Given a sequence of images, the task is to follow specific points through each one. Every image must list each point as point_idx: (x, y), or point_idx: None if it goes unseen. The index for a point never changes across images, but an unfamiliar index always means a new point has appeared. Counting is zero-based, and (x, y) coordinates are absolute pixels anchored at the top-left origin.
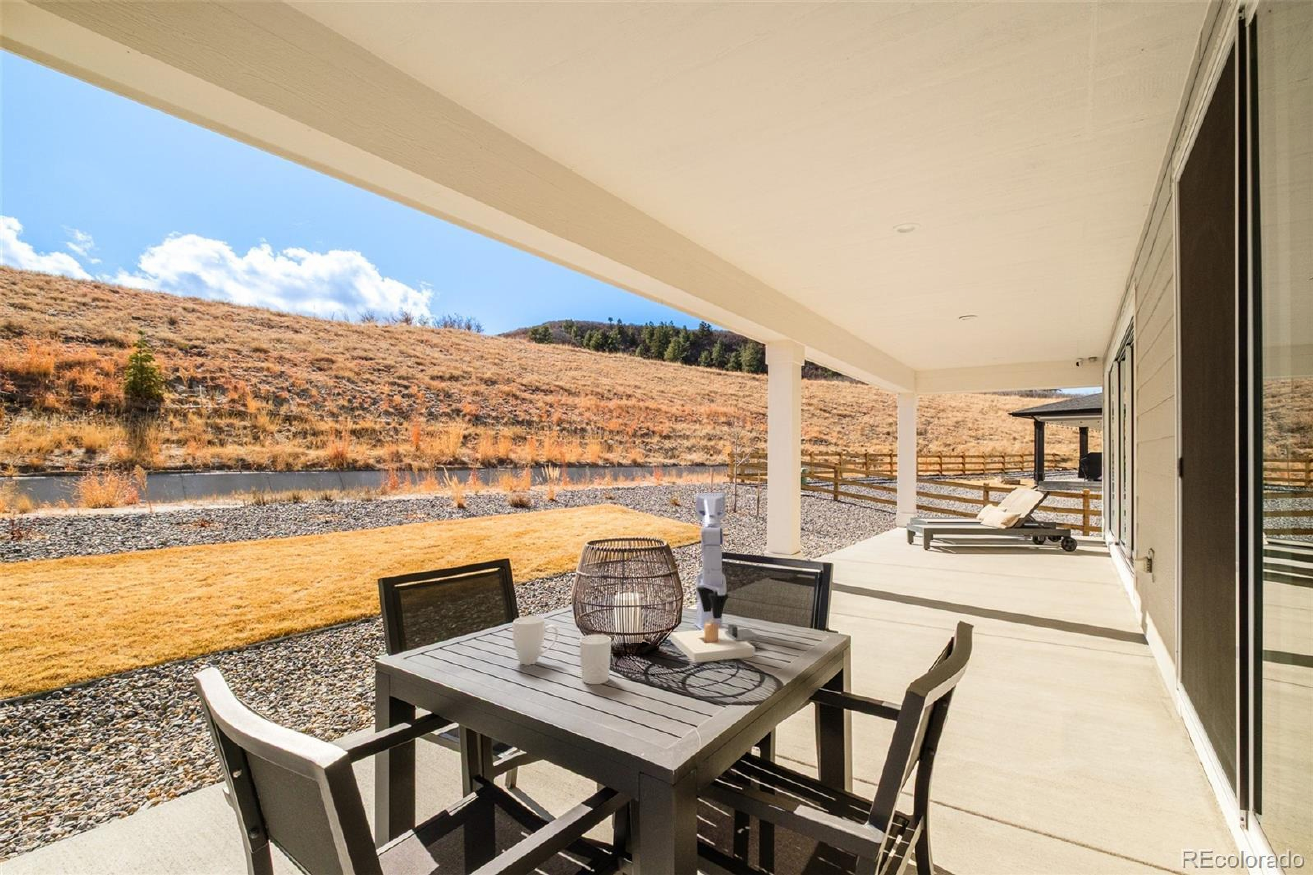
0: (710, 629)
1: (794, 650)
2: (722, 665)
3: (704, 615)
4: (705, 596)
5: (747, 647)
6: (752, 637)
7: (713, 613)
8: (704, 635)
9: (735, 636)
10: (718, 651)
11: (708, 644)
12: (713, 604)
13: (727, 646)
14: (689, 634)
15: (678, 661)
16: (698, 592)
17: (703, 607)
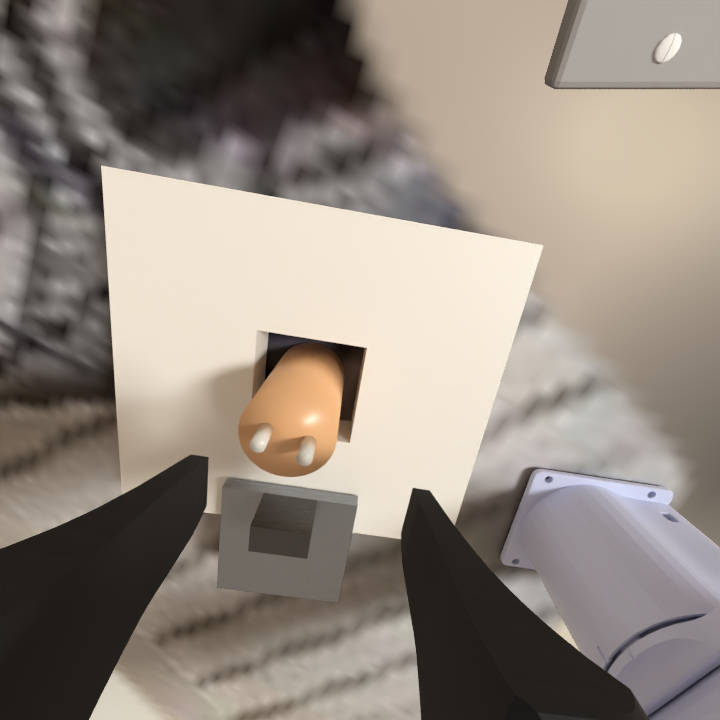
0: (254, 396)
1: (168, 617)
2: (69, 291)
3: (609, 540)
4: (445, 639)
5: (126, 473)
6: (219, 556)
7: (162, 473)
8: (320, 368)
9: (251, 500)
10: (113, 322)
11: (233, 333)
12: (39, 536)
13: (167, 402)
14: (447, 334)
15: (187, 101)
16: (573, 647)
17: (423, 508)
